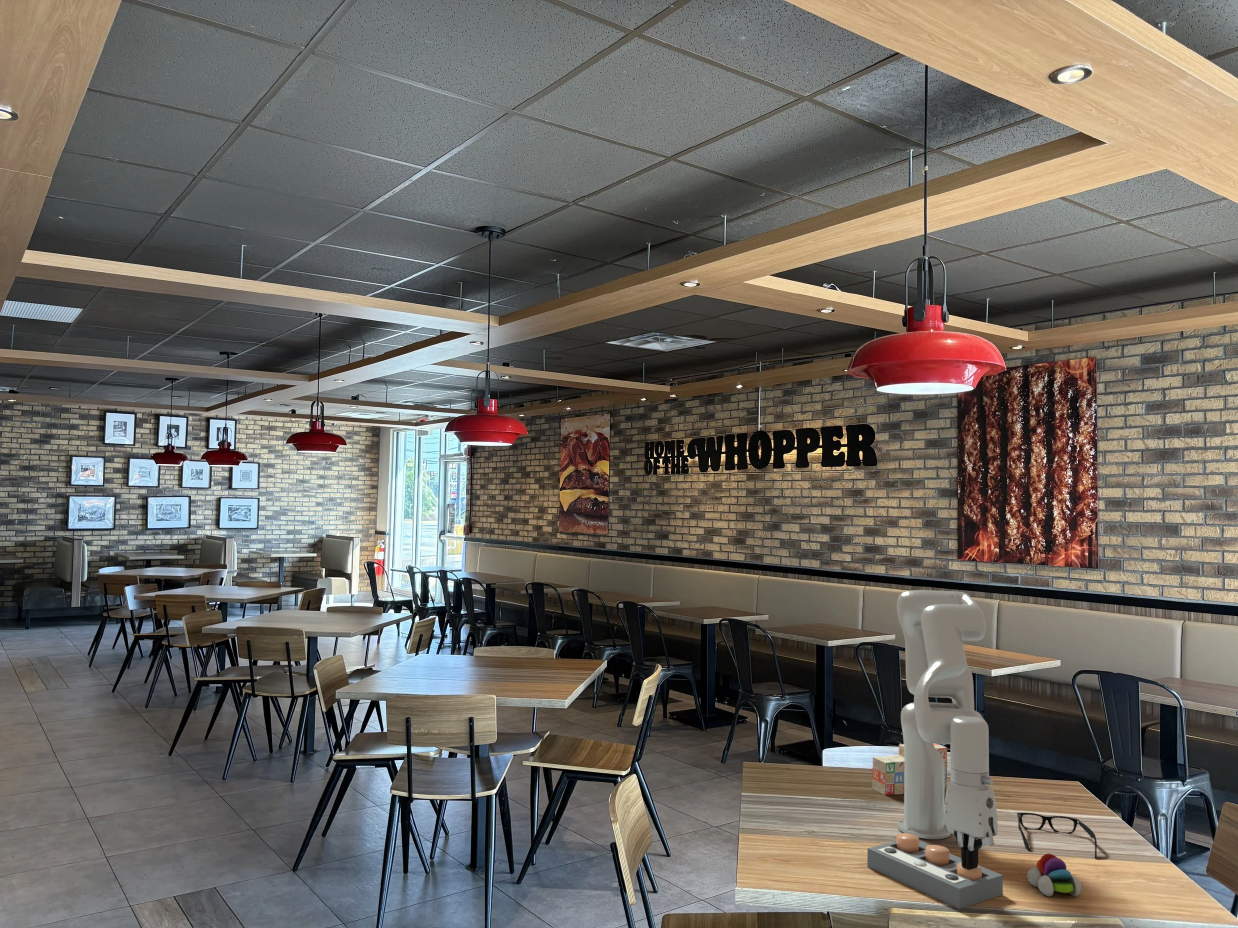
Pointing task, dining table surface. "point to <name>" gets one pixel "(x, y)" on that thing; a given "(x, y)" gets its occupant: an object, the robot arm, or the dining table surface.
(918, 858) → the button board
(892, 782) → the stack of blocks
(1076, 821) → the glasses
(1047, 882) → the rainbow wheeled toy
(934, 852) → the button
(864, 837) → the dining table surface
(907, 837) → the button
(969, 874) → the button
